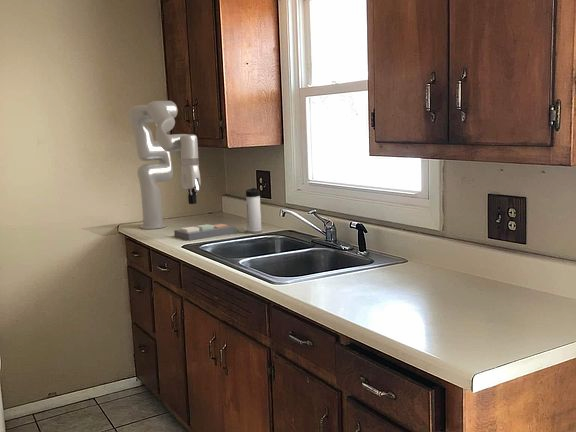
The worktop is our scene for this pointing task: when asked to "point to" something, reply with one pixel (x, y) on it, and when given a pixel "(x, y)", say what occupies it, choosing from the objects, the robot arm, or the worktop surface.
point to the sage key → (205, 227)
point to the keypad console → (205, 233)
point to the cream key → (189, 229)
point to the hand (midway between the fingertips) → (192, 203)
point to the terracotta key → (220, 225)
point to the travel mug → (253, 210)
